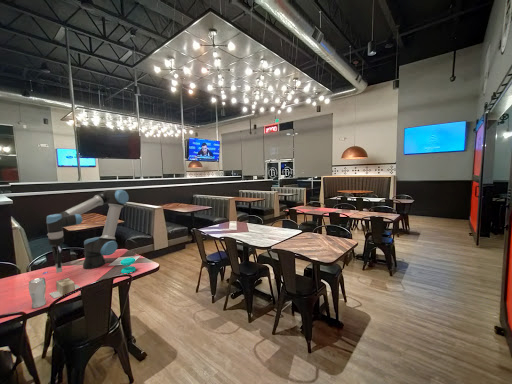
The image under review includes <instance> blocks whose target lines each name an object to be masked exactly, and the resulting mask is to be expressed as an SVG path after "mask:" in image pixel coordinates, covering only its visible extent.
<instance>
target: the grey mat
mask: <svg viewBox="0 0 512 384" xmlns="http://www.w3.org/2000/svg"><path fill="white" fill-rule="evenodd" d="M80 287H81V286H80V285H78V284H75V289H77V288H80ZM48 295H49V296H51V297H52V298H53V299H58V298H60V297H63V295H62V294H61V293H59V292H58V291H57V290H56V291H52V292H50V293H48Z"/></svg>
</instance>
